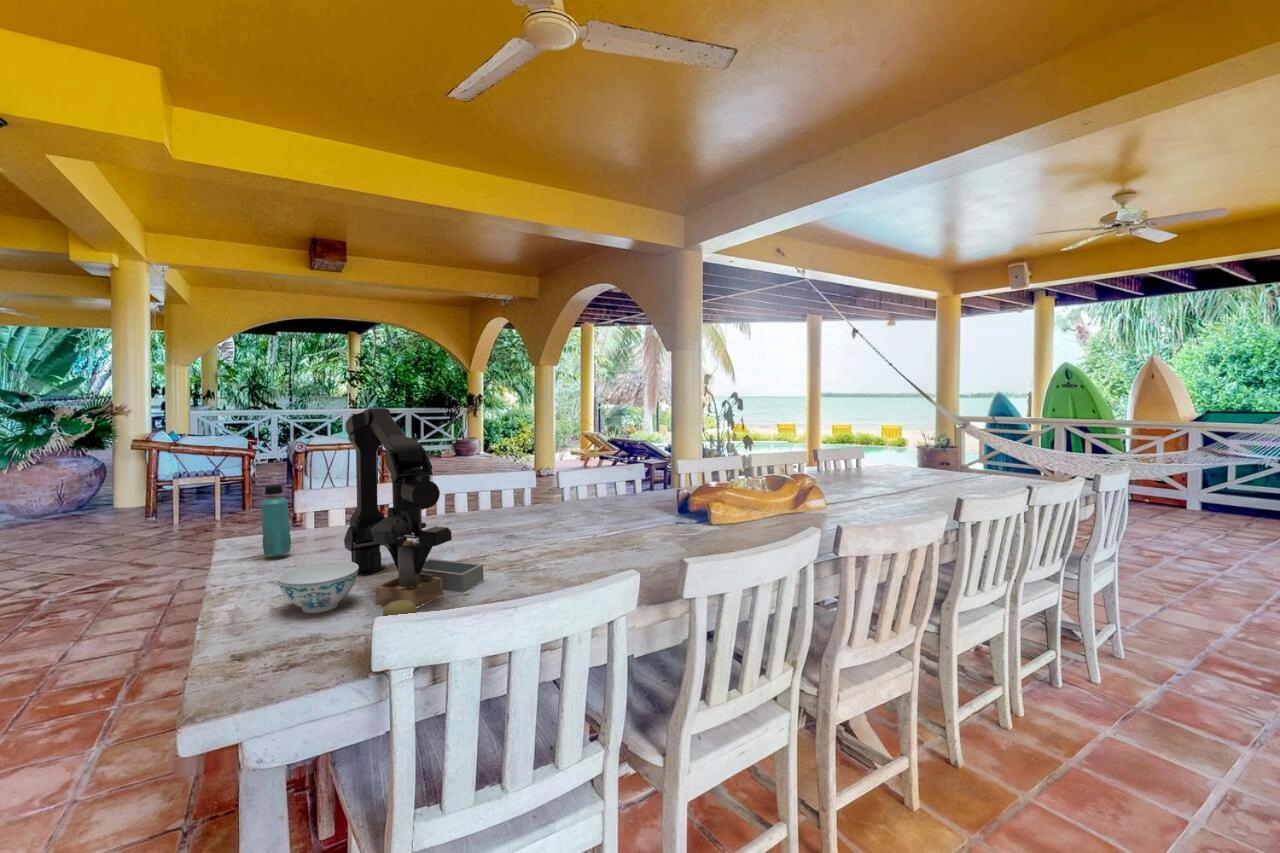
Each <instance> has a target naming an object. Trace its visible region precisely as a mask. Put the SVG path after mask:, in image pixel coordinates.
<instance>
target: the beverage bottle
mask: <svg viewBox="0 0 1280 853" xmlns="http://www.w3.org/2000/svg"><path fill="white" fill-rule="evenodd" d="M283 493H284V492H283V486H282V485H280V484H279V485H278V484H274V485H273V484H271V485H267V486H265V487H264V495H266V496H267V495H268V496H269V495H279V494H280V495H281V494H283ZM260 506H261V508H260V509H261V527H262V528H261V530H262V533H261V534H262V547H263V548H262V549H263V553H264V555H265V556H279V555H285V554H287V553H290V552H291V548H292V546H291V545H292V542H291V541H292V540H291V529H290V528H291V526H290V522H291V521H290V517H289V501H288V499H286V498H285V497H284V496H272V497H267V498H264V499H263V500H262V501H261V503H260Z"/></svg>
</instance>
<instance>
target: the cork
mask: <svg viewBox="0 0 1280 853" xmlns="http://www.w3.org/2000/svg"><path fill="white" fill-rule="evenodd" d="M408 613H417V614H418V609H417V608H416V605H415V604H414V602H412V601H409V600H399V601H394V602H391V603H389V604H388V605H387V606H386V607H384V609H383V611H382V617H383V616H388V615H398V614H408ZM418 669H420V667H419V668H415V670H414V672H416V671H417V670H418ZM383 674H384V675H385V676H388V675H387V673H383Z"/></svg>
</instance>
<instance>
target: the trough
mask: <svg viewBox="0 0 1280 853" xmlns="http://www.w3.org/2000/svg"><path fill="white" fill-rule="evenodd" d="M420 573H426V574H434V577H439V578H442V585H443V590H444V589H446V590H445V591H451V590H455V591H454V592H458V591H464V592H466V591H467V589H468V590H469V588H470V587H471V588H473V587H474V585H475V586H477V585H478V584H477V583H479V582H481V581H483V580H484V579H485V578H484V564H482V563H481V564H479V563H471V562H462V561H454V560H447V559H438V558H428V559H426V561H425V563H424V566H423V568H422V570H421V572H420ZM483 582H484V581H483ZM481 583H482V582H481ZM476 584H477V585H476ZM479 584H480V583H479ZM472 586H473V587H472ZM471 588H470V589H471ZM465 590H466V591H465Z"/></svg>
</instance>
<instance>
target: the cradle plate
mask: <svg viewBox="0 0 1280 853" xmlns="http://www.w3.org/2000/svg"><path fill="white" fill-rule="evenodd" d="M427 583H428V582H420V584H418V585H416V586H412V587H400V586H399V584H398V585H396V586H393V587H391V588H397V589H404V590H411V591H412V590H414V589H416V588H418V587H420V586H422V585H425V584H427Z"/></svg>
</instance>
